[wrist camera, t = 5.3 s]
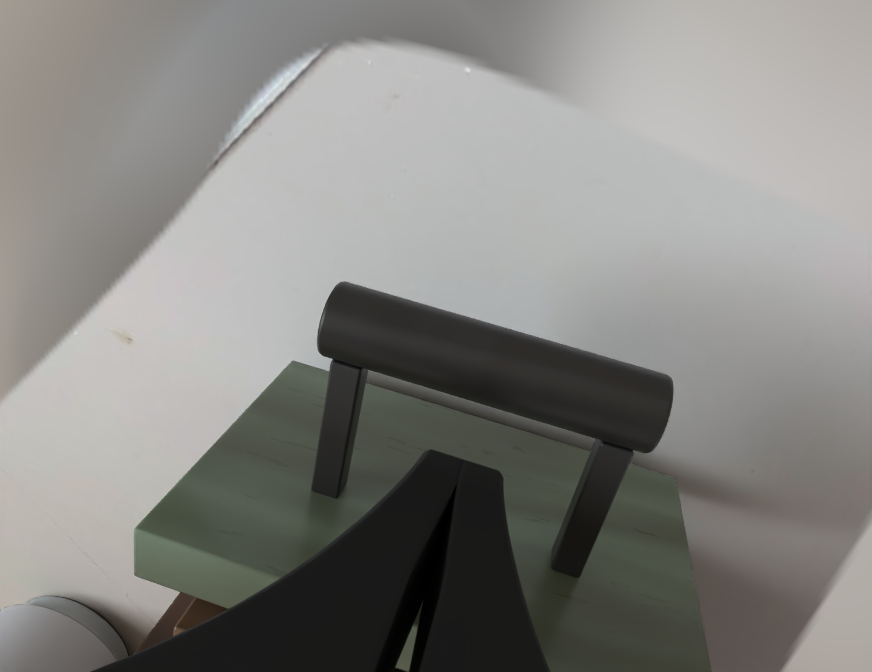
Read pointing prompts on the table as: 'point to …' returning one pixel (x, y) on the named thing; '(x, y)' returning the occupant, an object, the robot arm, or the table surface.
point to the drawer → (464, 438)
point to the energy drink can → (56, 637)
